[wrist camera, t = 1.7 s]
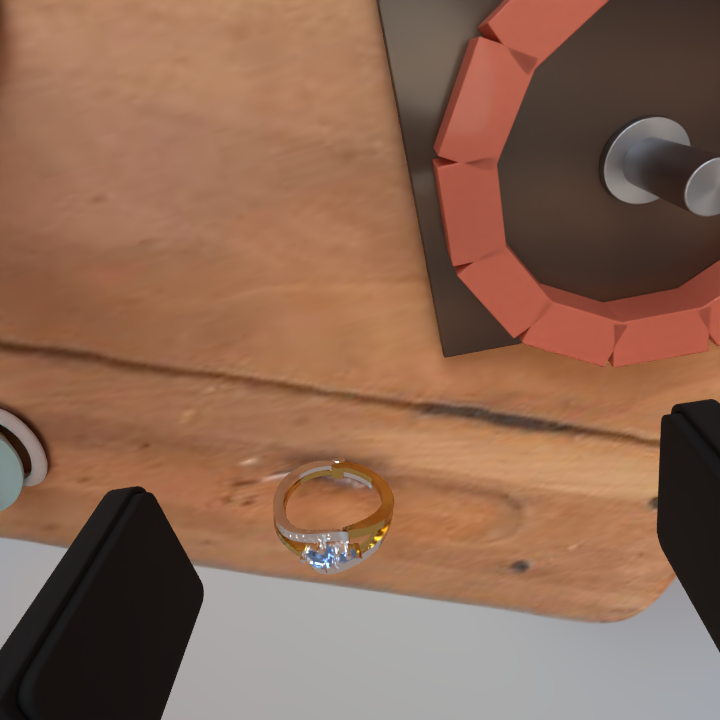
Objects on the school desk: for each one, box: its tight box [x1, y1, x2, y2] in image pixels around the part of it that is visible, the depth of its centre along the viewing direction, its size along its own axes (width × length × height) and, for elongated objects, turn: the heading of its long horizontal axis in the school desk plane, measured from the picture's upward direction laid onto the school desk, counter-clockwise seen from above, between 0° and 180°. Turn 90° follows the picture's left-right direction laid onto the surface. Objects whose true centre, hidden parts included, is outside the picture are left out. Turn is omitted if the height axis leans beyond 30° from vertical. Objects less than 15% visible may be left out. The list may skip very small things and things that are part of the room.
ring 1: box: [273, 457, 394, 574], centre depth 31 cm, size 7×3×8 cm, turn 85°
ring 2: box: [432, 0, 720, 367], centre depth 22 cm, size 18×18×2 cm
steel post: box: [599, 115, 720, 217], centre depth 21 cm, size 4×4×6 cm
